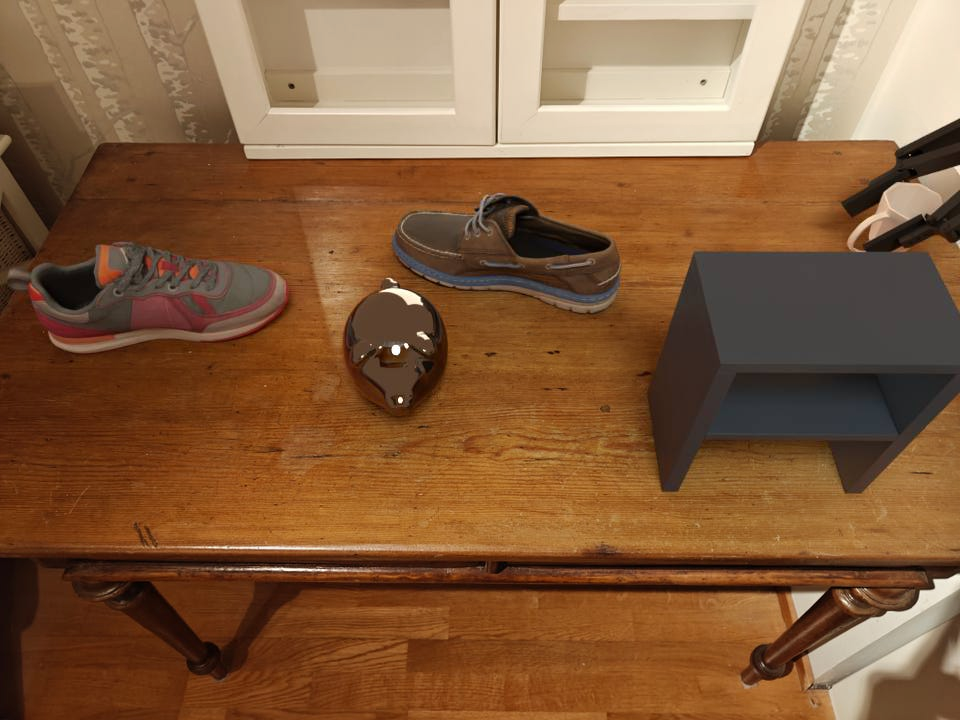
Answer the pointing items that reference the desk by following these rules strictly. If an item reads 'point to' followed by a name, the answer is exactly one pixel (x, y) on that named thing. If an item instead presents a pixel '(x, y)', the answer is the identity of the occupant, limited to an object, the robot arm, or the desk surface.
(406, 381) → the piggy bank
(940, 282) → the shelf
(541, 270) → the boat shoe
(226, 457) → the desk surface
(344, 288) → the desk surface
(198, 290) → the sneaker
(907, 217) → the cup
